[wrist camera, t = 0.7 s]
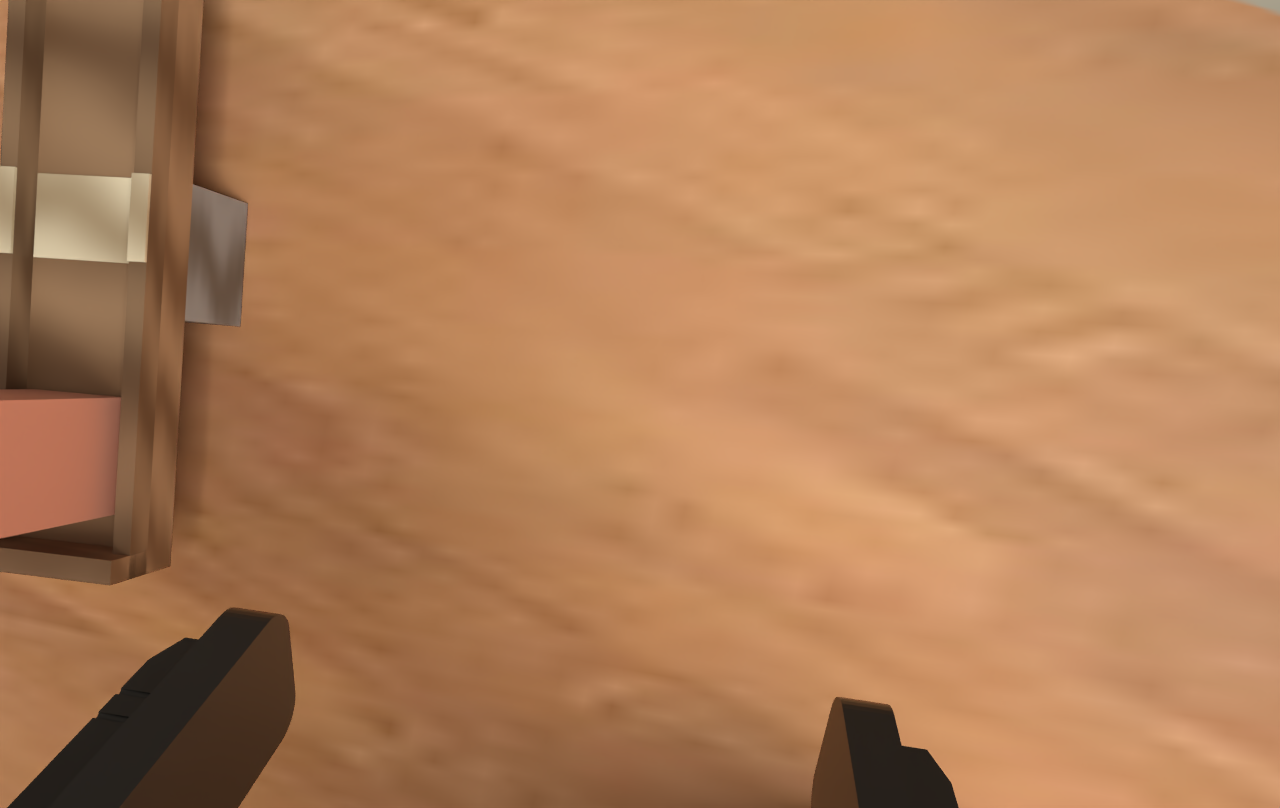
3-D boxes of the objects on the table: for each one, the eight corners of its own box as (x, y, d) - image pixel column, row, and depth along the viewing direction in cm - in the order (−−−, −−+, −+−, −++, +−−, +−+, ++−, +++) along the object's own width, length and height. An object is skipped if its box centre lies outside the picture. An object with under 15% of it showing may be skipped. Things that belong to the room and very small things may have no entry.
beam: (226, 548, 41) (109, 585, 33) (99, 533, 42) (-42, 566, 34) (262, -26, 40) (149, -119, 32) (130, -28, 41) (-9, -119, 33)
